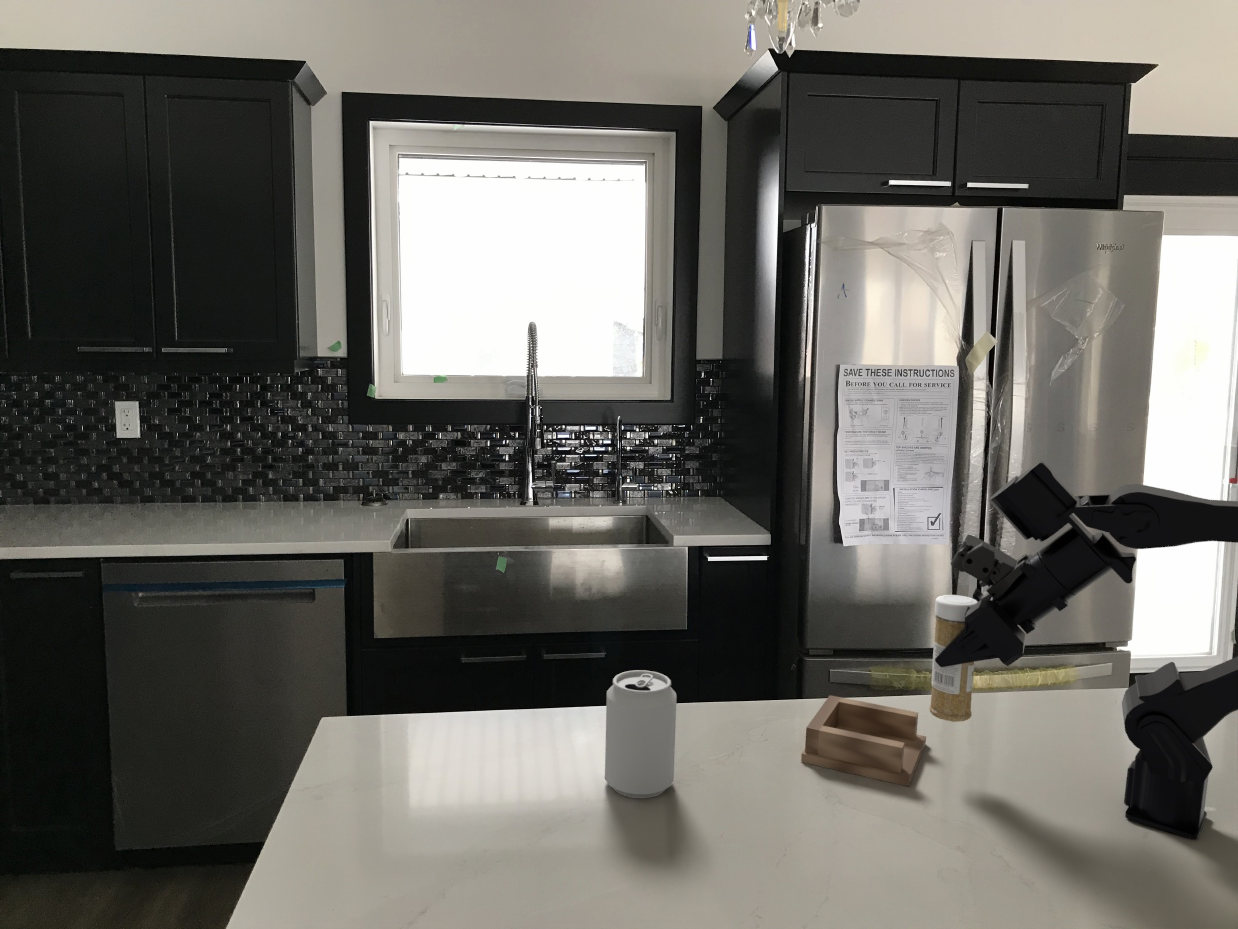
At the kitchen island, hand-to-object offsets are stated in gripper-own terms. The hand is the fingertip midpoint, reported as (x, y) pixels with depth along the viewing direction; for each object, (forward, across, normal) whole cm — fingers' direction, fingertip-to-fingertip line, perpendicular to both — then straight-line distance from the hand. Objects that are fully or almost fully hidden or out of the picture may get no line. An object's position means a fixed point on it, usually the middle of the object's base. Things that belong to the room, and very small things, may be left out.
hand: (940, 657), depth 105 cm
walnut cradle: (+15, 0, +4) cm, 15 cm away
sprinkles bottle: (+4, 0, +6) cm, 7 cm away
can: (+29, +20, -10) cm, 37 cm away
